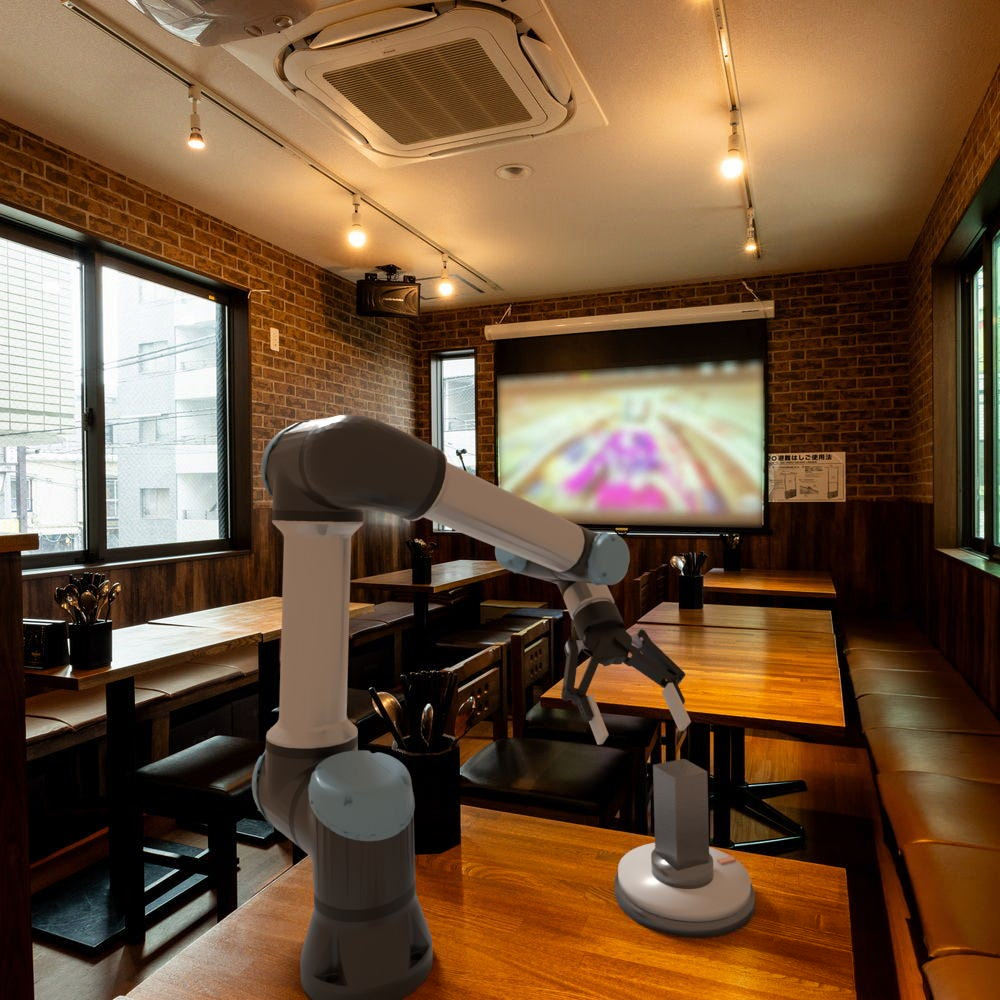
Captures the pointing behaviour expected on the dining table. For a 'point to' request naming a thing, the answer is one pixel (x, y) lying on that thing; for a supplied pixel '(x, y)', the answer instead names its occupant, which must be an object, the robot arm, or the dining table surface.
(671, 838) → the square post on disc
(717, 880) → the turntable platter
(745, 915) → the base
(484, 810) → the dining table surface
